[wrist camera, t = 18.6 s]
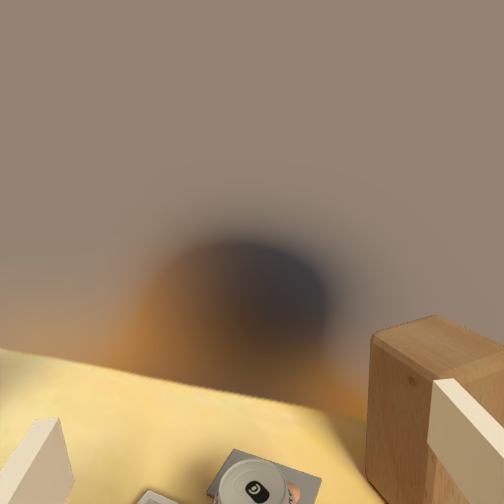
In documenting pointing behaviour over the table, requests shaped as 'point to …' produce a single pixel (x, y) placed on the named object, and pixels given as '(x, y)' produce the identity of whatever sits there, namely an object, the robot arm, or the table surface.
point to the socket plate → (155, 499)
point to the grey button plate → (298, 481)
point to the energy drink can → (254, 484)
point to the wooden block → (423, 403)
